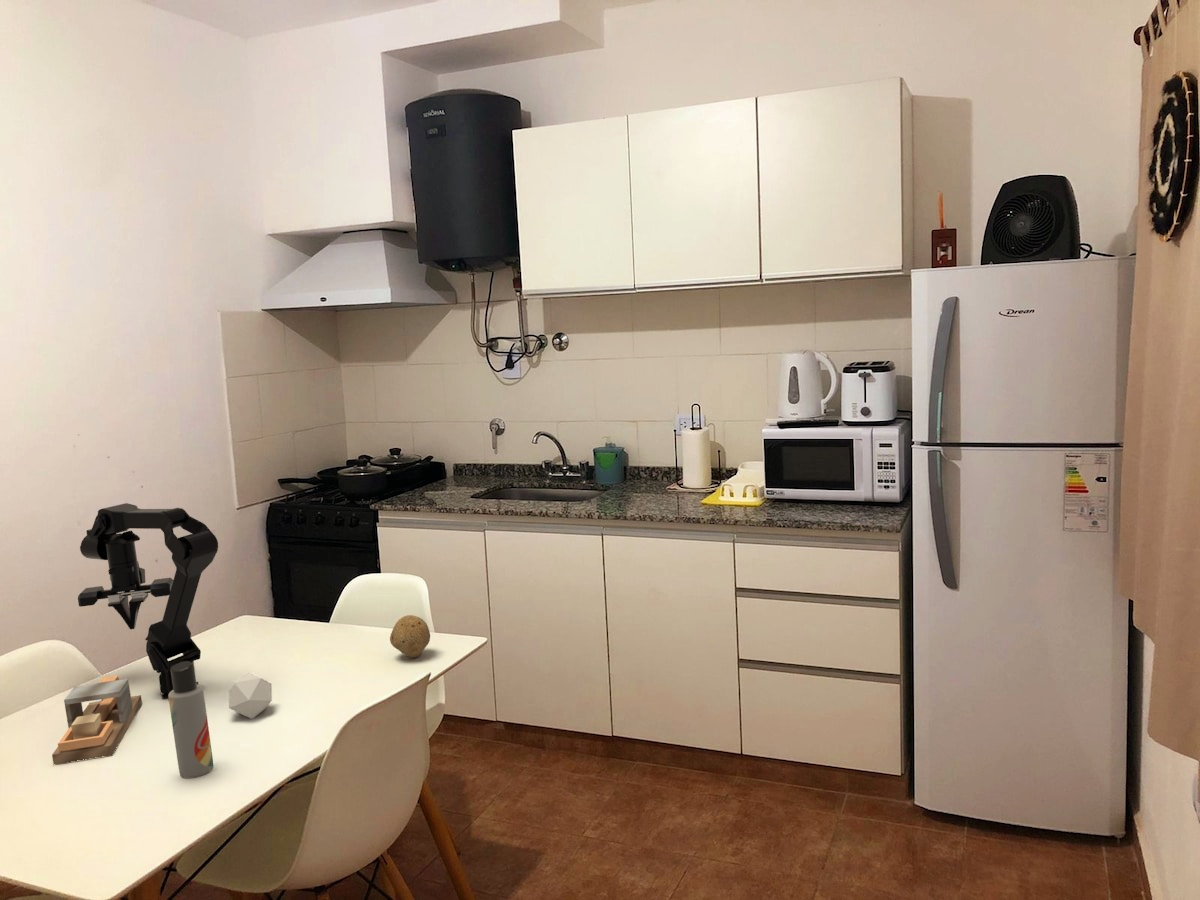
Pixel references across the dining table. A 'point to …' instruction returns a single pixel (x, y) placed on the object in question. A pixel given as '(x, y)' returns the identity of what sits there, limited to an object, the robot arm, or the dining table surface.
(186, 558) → the robot arm
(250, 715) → the die
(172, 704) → the lotion bottle
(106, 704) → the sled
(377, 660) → the dining table surface
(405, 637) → the brown round lump
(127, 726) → the tunnel
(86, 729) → the birch block
